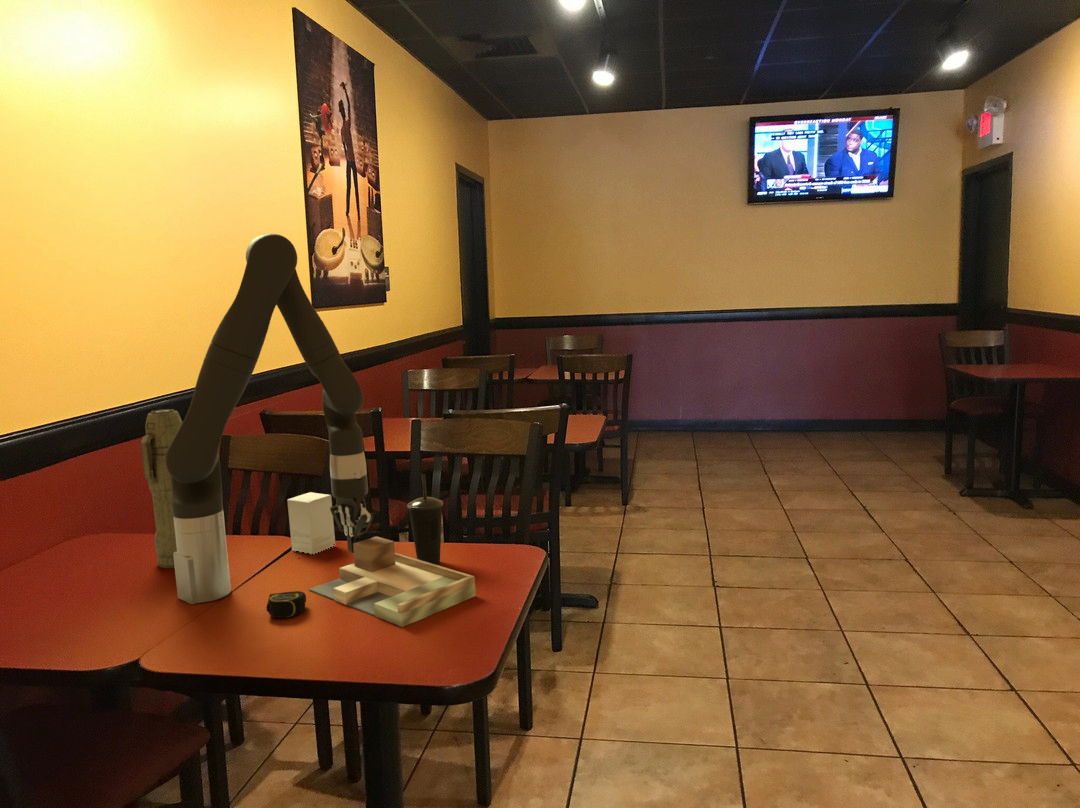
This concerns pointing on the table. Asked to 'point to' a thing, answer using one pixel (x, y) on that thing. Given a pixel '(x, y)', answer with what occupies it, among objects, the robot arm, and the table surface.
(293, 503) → the supplement box
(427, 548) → the drinking cup
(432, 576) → the board
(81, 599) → the table surface
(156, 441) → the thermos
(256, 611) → the table surface
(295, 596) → the tape measure
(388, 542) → the walnut block
